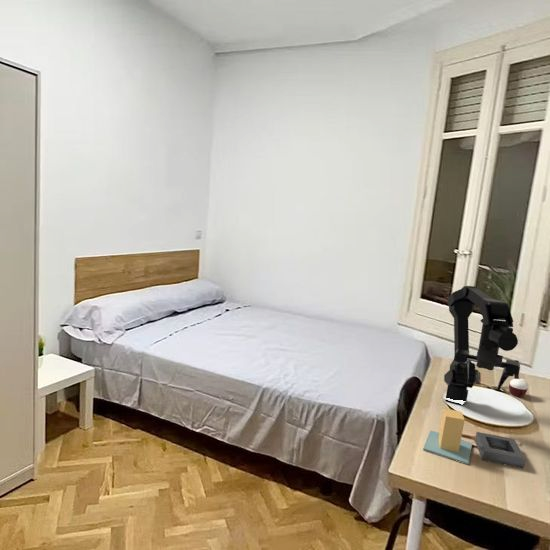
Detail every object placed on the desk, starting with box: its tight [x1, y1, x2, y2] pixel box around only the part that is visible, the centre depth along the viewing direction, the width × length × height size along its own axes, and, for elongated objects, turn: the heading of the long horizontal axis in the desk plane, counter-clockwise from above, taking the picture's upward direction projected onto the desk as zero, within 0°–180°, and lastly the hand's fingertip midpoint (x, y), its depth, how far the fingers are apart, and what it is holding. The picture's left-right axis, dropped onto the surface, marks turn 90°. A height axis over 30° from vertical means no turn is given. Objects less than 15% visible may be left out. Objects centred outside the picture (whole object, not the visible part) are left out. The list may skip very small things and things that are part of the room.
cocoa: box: [508, 360, 530, 398], centre depth 172 cm, size 10×6×12 cm, turn 156°
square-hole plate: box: [474, 431, 526, 469], centre depth 129 cm, size 10×10×3 cm
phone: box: [474, 368, 480, 384], centre depth 188 cm, size 8×1×15 cm
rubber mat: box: [422, 429, 473, 465], centre depth 131 cm, size 12×12×1 cm
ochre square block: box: [438, 408, 465, 452], centre depth 129 cm, size 5×5×10 cm
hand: (482, 386), depth 144 cm, fingers open, 9 cm apart
